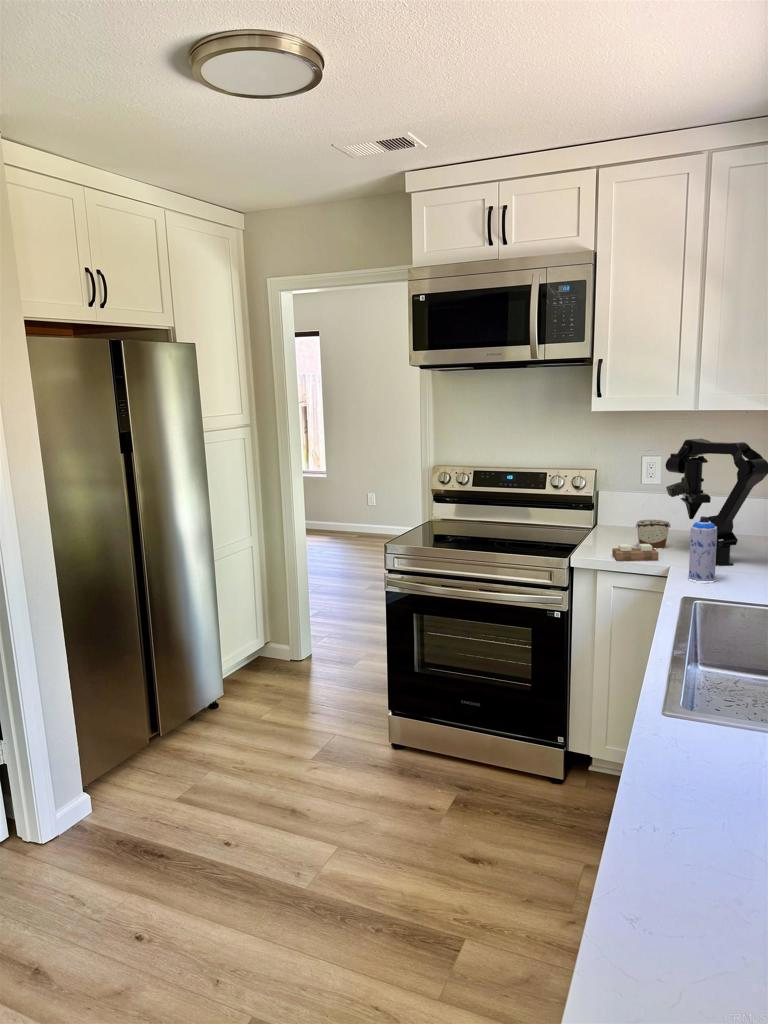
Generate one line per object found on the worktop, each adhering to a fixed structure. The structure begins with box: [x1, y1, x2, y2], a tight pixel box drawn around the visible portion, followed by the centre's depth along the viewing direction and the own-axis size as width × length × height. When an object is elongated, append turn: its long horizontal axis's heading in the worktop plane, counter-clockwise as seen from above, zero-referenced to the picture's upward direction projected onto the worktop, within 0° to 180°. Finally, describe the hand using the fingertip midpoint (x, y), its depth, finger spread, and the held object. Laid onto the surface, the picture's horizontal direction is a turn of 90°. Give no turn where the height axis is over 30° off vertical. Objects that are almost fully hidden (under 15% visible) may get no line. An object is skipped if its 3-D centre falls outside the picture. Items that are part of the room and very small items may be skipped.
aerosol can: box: [688, 516, 717, 581], centre depth 216 cm, size 8×8×20 cm
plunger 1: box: [617, 543, 633, 551], centre depth 247 cm, size 4×4×5 cm
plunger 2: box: [638, 543, 652, 551], centre depth 246 cm, size 4×4×5 cm
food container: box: [635, 519, 671, 550], centre depth 262 cm, size 12×6×10 cm, turn 84°
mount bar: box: [611, 547, 660, 562], centre depth 246 cm, size 7×14×3 cm, turn 85°
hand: (691, 519), depth 246 cm, fingers closed
